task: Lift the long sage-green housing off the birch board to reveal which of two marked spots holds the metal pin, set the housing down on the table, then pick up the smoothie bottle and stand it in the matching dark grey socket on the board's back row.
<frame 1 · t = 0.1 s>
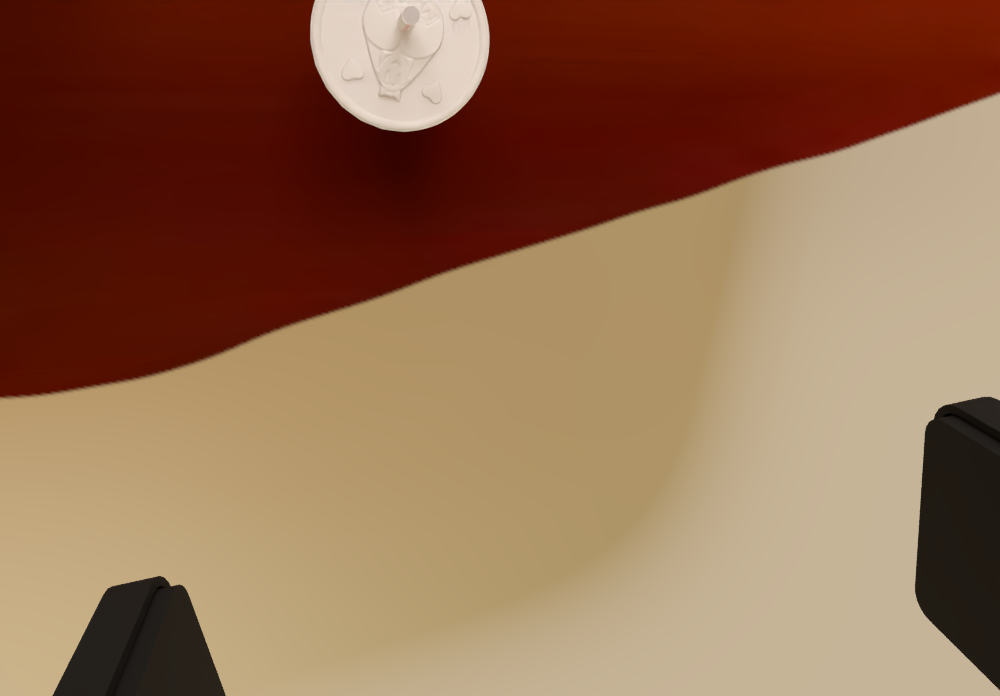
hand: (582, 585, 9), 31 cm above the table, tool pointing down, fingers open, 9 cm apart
smoothie: (393, 46, 36), on the table
when the fingers open (2 cm above the table, at t = 9.1 s): housing drops 1 cm, on the table.
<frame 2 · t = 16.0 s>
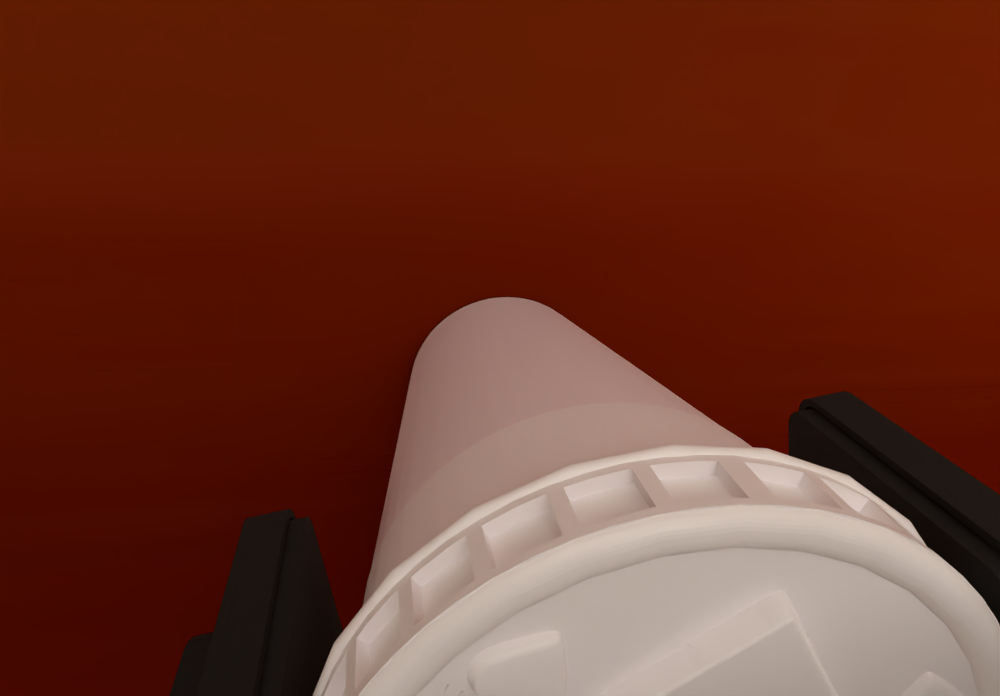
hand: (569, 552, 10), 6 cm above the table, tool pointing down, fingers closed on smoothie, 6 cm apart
smoothie: (500, 381, 16), on the table, touching gripper
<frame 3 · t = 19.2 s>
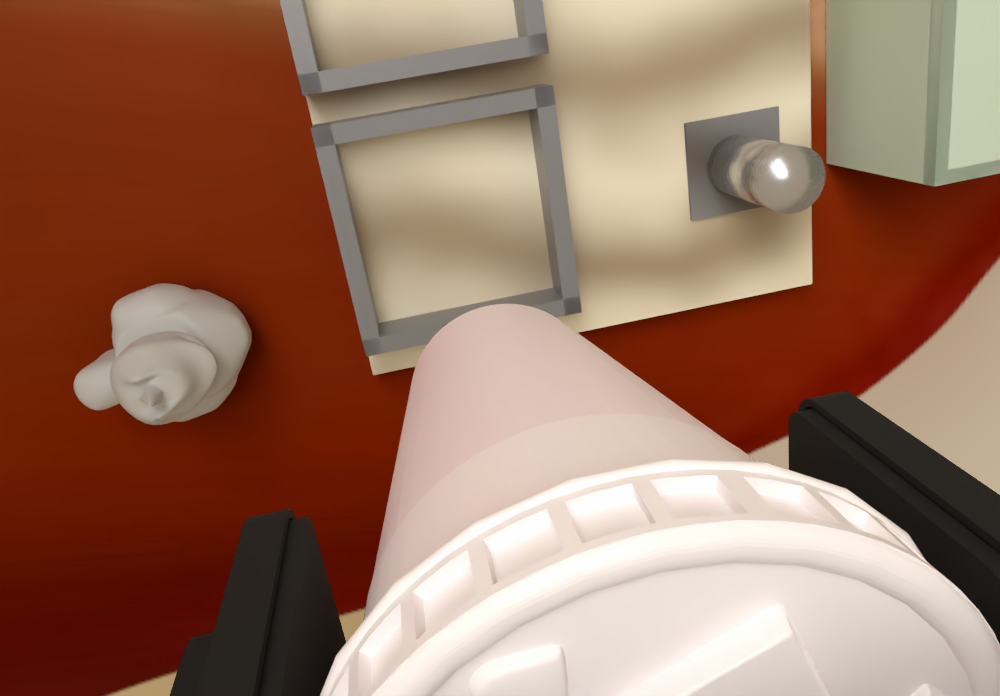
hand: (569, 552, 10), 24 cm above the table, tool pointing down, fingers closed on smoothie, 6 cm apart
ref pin: (732, 164, 32), resting on board
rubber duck: (181, 334, 32), on the table
board: (560, 64, 31), on the table
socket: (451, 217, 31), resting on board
smoothie: (501, 387, 16), point 18 cm above the table, touching gripper
when the fingers open (8 cm above the table, at t = 22.7 s): smoothie drops 2 cm, resting on board.
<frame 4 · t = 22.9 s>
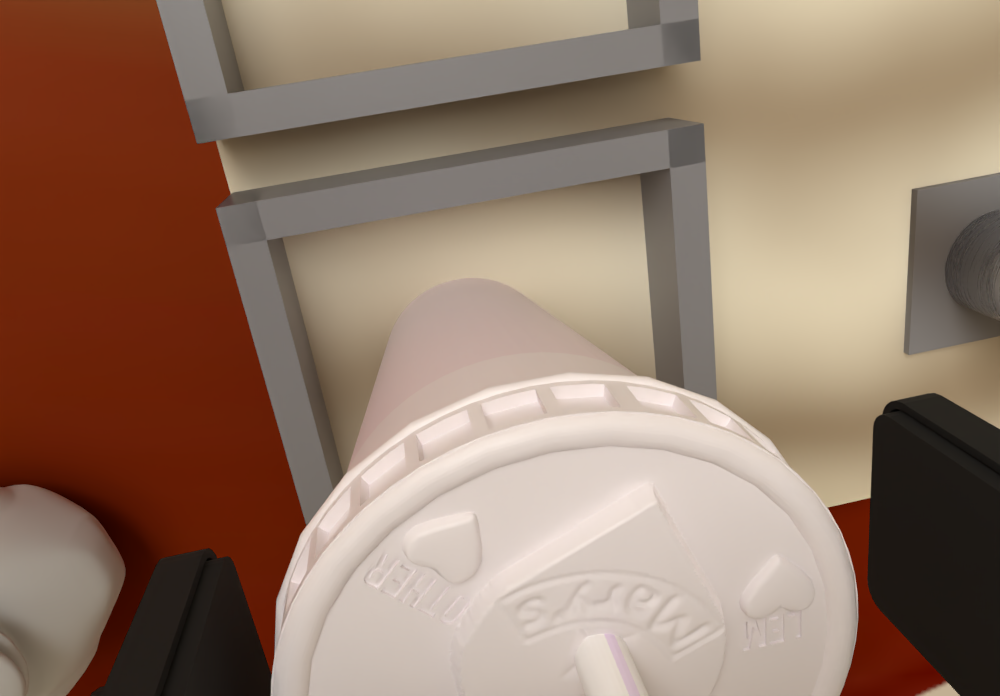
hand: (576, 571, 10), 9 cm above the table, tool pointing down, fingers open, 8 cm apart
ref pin: (985, 258, 18), resting on board
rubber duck: (9, 547, 18), on the table
board: (692, 80, 17), on the table
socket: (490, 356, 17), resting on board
smoothie: (468, 355, 17), point 1 cm above the table, touching board
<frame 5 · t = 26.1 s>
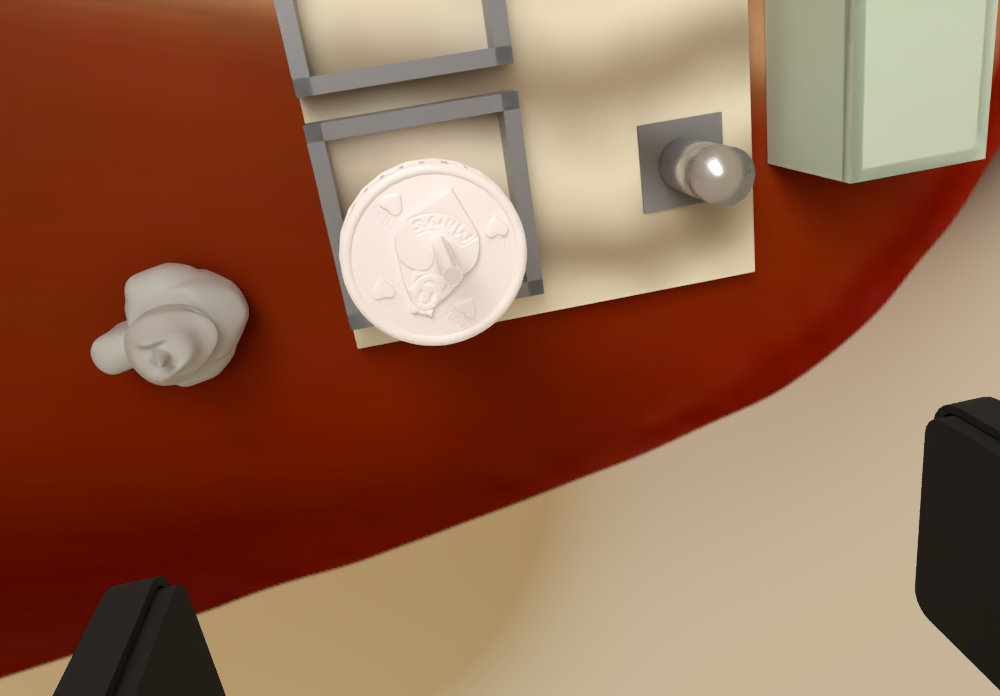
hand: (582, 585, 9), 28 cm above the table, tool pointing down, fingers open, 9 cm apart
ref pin: (681, 162, 36), resting on board
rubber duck: (185, 310, 36), on the table
board: (526, 72, 34), on the table
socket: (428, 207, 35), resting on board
smoothie: (417, 208, 35), point 1 cm above the table, touching board
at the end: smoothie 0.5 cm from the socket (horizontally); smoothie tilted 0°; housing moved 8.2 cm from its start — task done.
